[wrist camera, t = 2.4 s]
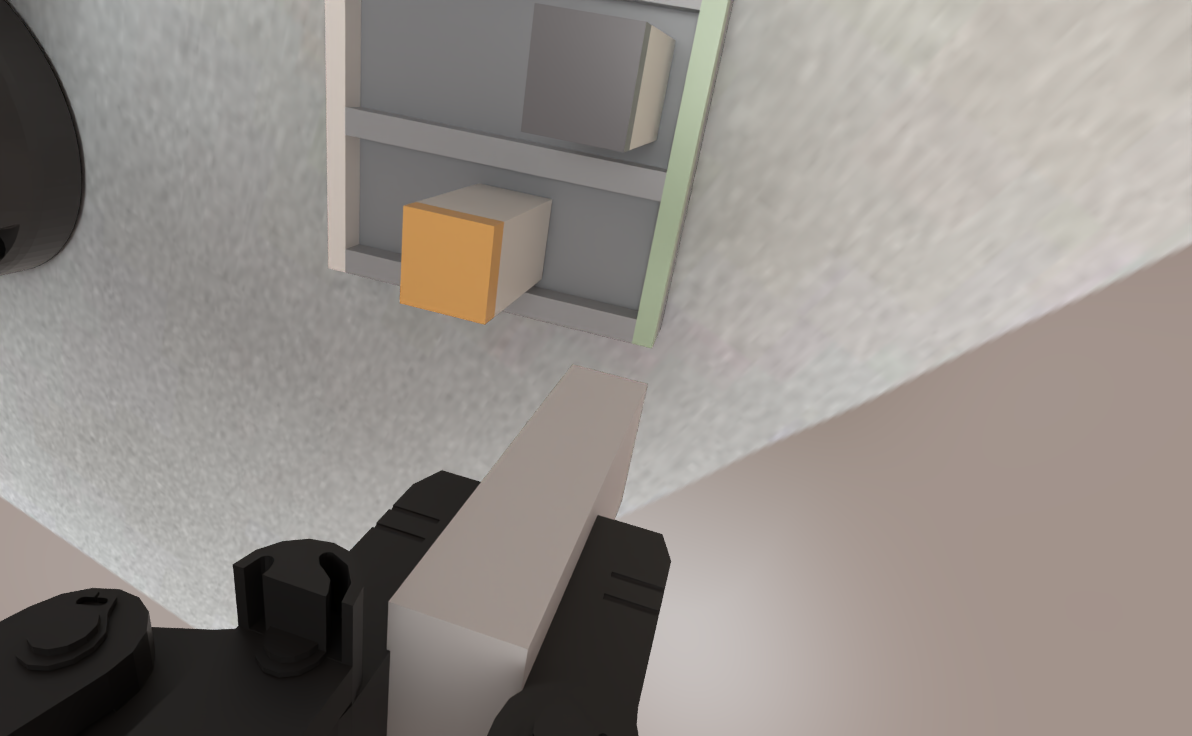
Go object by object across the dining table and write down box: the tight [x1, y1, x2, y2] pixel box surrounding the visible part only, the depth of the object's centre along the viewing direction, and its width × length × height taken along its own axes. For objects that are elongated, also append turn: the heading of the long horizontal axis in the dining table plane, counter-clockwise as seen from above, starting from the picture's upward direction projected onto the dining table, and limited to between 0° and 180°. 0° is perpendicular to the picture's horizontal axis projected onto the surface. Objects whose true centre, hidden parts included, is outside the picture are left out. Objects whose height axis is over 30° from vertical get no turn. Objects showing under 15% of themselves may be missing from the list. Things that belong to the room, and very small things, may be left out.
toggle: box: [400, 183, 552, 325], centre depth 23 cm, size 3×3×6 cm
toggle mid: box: [521, 3, 676, 153], centre depth 20 cm, size 3×3×6 cm
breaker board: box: [325, 0, 734, 348], centre depth 23 cm, size 14×18×2 cm
